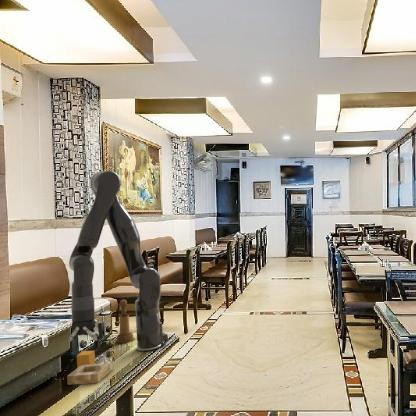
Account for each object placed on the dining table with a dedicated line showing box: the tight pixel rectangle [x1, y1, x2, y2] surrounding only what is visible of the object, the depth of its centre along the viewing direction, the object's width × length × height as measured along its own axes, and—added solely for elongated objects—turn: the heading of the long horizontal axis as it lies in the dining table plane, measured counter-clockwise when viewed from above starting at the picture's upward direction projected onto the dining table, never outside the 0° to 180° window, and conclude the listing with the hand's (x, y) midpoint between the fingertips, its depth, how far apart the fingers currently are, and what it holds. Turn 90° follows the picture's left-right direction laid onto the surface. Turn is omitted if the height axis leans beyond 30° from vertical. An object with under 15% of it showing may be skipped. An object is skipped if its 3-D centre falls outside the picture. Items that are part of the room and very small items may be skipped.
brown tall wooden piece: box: [116, 299, 134, 344], centre depth 188 cm, size 7×6×18 cm
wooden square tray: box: [66, 362, 111, 386], centre depth 149 cm, size 10×10×3 cm
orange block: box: [76, 350, 96, 369], centre depth 160 cm, size 4×4×5 cm
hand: (84, 350), depth 159 cm, fingers open, 8 cm apart
